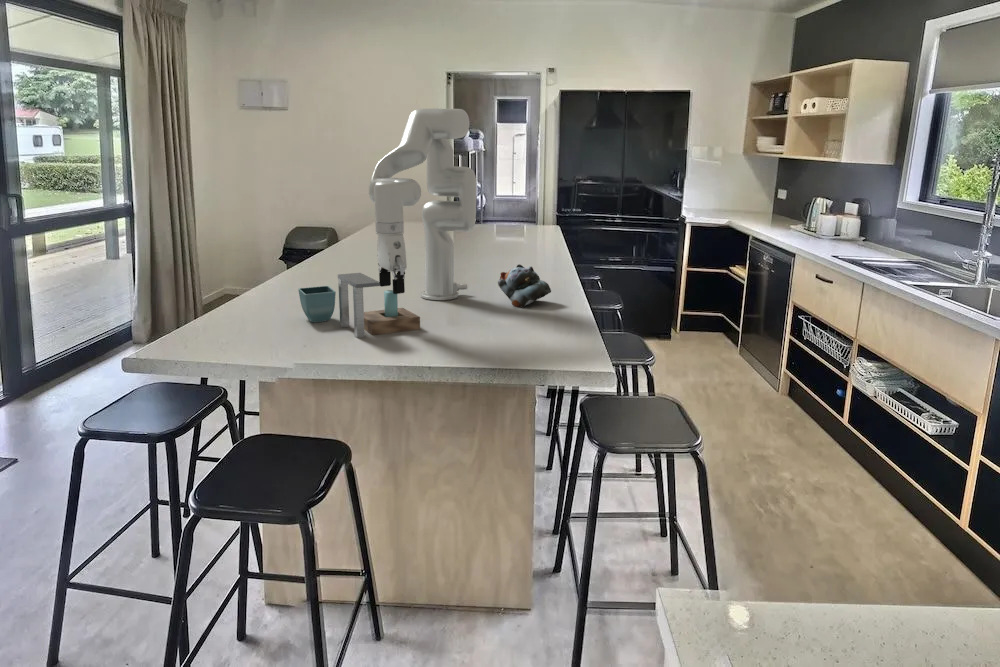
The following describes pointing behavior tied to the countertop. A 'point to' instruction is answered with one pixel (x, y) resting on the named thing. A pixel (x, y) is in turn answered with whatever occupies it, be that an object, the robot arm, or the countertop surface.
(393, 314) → the peg
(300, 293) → the flower pot
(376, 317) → the socket
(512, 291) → the lucky cat figurine
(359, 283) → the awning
